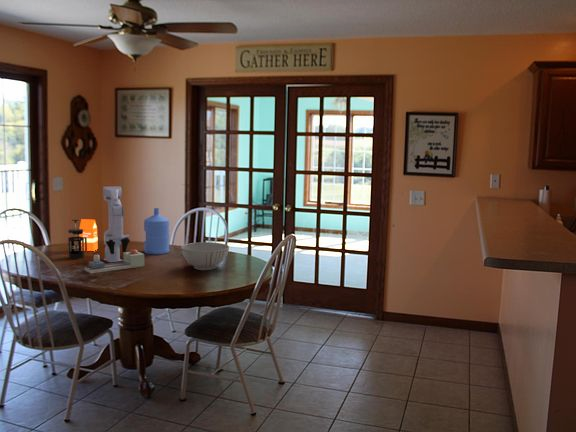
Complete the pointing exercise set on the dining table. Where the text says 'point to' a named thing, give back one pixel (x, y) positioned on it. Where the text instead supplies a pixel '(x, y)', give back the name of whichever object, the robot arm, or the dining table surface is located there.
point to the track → (121, 263)
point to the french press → (73, 253)
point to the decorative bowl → (205, 254)
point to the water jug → (156, 234)
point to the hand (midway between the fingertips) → (118, 253)
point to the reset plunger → (133, 251)
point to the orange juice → (89, 234)
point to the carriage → (96, 262)
